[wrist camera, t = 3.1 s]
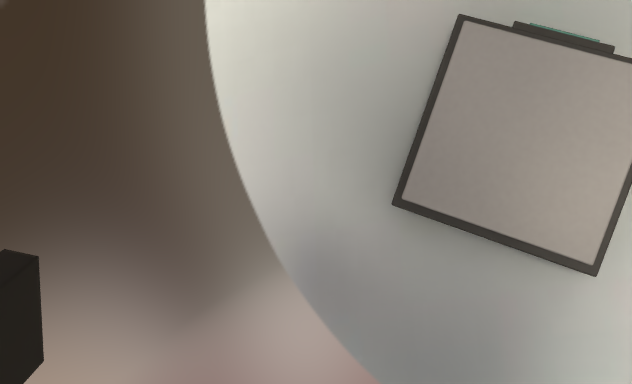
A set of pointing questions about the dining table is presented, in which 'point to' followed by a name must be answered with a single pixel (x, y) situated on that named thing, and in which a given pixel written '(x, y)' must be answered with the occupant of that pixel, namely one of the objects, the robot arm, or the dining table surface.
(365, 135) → the dining table surface
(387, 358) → the dining table surface
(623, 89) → the kitchen scale
